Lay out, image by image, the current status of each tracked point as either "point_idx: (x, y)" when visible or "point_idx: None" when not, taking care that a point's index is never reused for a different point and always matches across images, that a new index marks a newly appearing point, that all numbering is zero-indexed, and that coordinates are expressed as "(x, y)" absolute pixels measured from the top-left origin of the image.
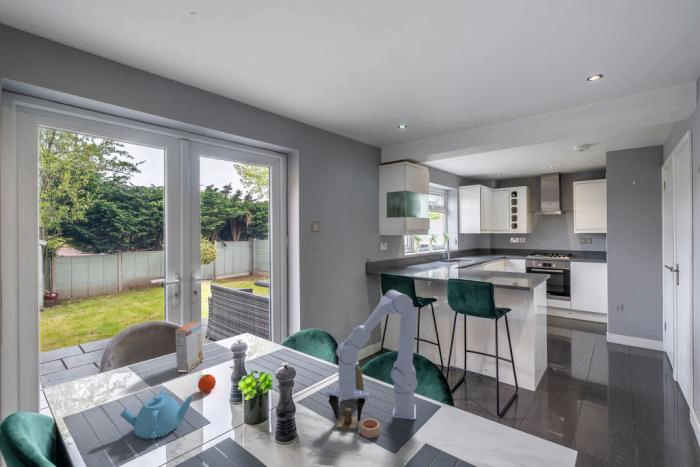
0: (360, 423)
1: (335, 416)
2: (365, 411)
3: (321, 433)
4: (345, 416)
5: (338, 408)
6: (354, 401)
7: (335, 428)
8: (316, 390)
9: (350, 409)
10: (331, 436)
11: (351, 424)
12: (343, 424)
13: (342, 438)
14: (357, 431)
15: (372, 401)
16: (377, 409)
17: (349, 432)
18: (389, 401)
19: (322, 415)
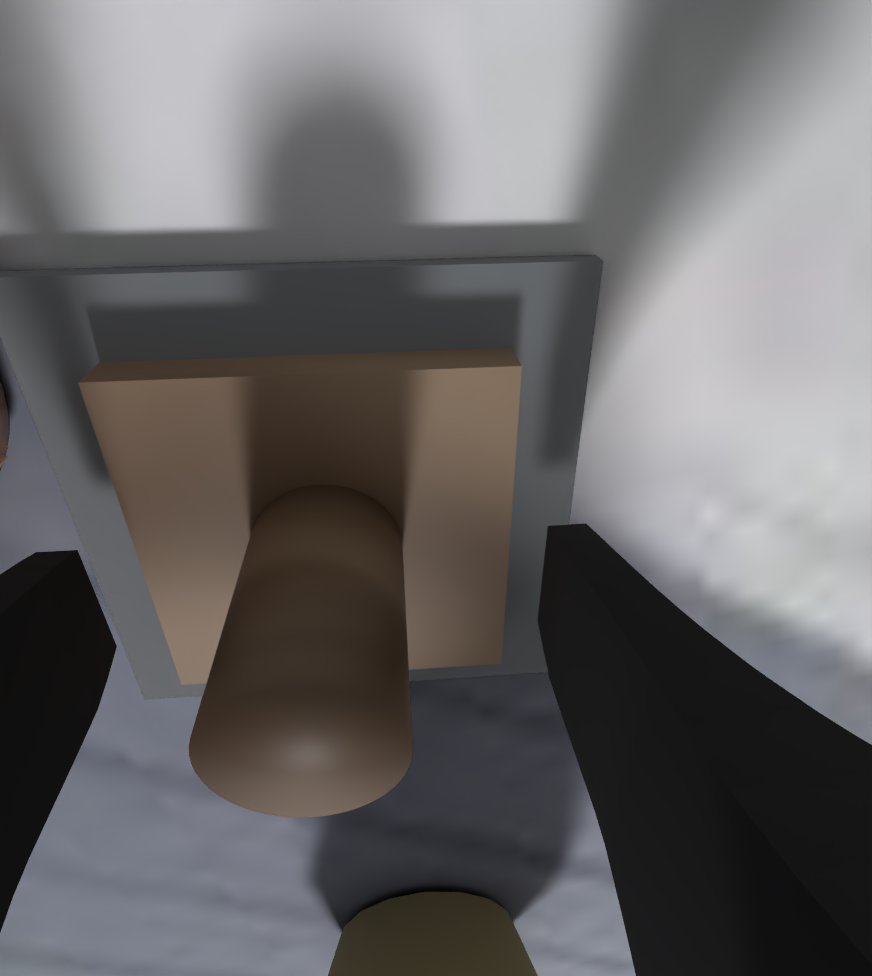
0: (120, 575)
1: (608, 553)
2: (200, 804)
3: (824, 151)
4: (353, 587)
5: (581, 761)
6: (401, 902)
7: (542, 347)
8: None
9: (242, 785)
10: (587, 75)
11: (229, 484)
12: (393, 452)
13: (303, 41)
14: (47, 343)
15: (200, 934)
16: (64, 857)
17: (203, 273)
18: (8, 966)
19: (793, 632)
